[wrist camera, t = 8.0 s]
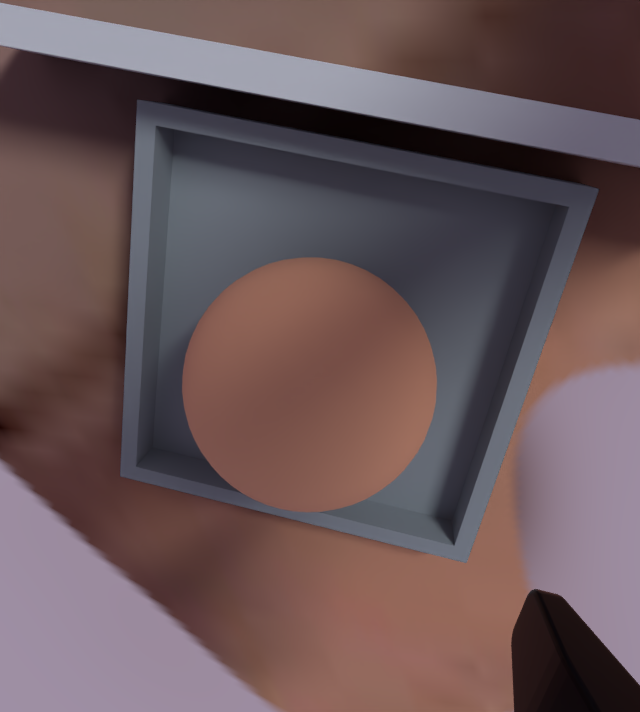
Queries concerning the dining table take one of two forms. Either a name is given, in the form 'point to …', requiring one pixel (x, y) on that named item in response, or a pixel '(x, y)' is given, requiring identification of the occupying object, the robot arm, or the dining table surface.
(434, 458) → the grey square tray
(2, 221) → the dining table surface
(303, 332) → the ball
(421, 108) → the wall
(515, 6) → the dining table surface
